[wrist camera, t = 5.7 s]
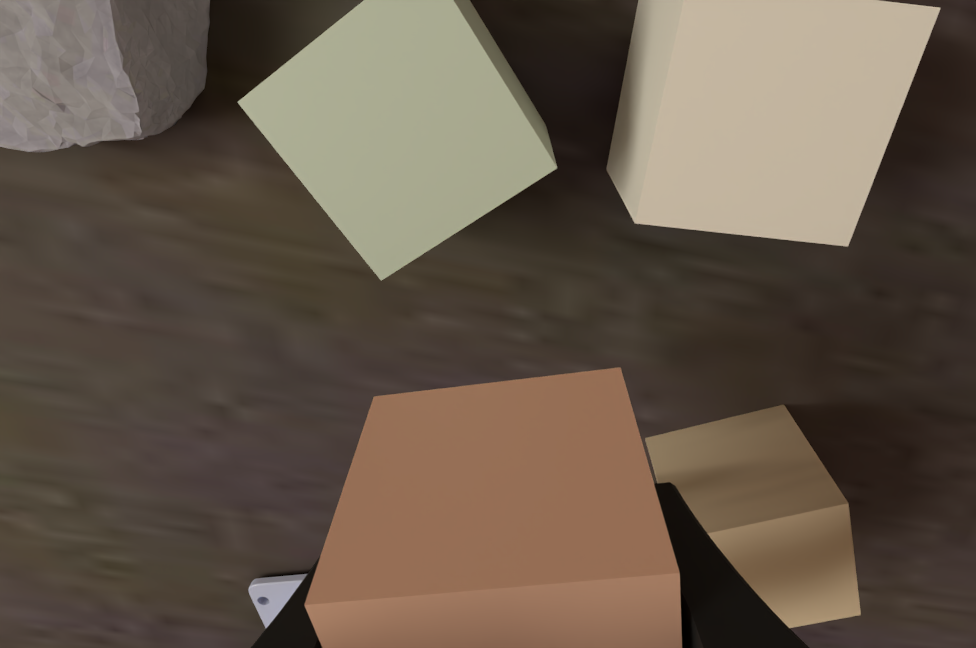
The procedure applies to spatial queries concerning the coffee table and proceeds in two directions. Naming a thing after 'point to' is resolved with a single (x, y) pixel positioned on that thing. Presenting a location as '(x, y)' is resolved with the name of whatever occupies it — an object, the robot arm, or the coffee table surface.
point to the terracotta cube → (500, 524)
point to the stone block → (97, 69)
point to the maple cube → (767, 510)
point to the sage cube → (403, 125)
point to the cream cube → (762, 112)
